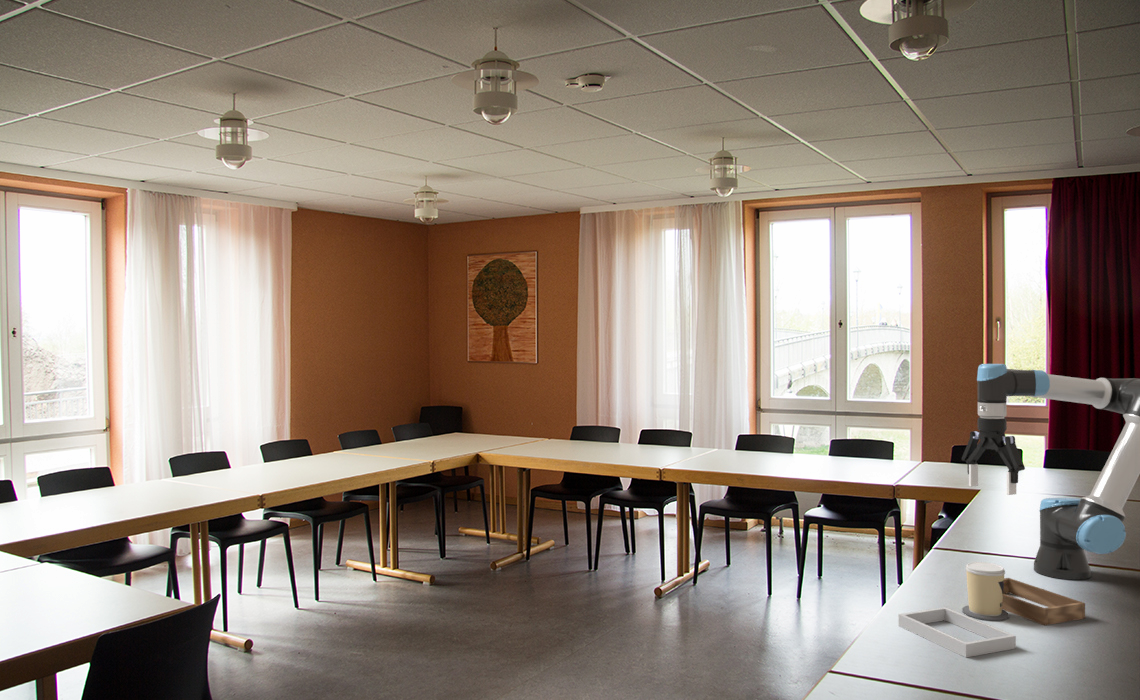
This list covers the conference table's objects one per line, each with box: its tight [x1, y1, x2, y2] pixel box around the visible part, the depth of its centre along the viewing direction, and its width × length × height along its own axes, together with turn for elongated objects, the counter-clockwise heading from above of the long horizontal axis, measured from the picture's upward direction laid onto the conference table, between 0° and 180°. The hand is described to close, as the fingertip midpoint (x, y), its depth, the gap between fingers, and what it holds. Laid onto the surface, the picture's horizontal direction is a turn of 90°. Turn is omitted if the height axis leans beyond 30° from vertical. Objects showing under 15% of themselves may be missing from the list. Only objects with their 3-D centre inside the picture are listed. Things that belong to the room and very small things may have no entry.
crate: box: [1002, 577, 1086, 626], centre depth 225 cm, size 14×24×4 cm, turn 19°
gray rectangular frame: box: [898, 606, 1017, 658], centre depth 205 cm, size 15×22×3 cm
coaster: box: [962, 604, 1010, 622], centre depth 221 cm, size 11×11×1 cm
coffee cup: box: [965, 561, 1006, 616], centre depth 221 cm, size 9×9×12 cm
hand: (992, 490), depth 242 cm, fingers open, 13 cm apart
